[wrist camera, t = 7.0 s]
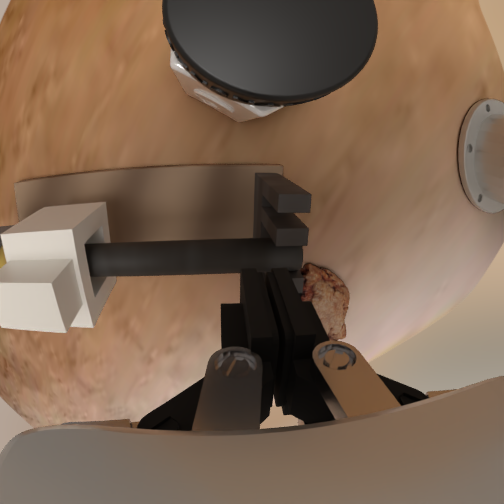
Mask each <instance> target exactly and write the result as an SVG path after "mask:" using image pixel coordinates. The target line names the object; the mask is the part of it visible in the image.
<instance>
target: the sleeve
mask: <svg viewBox="0 0 504 504" xmlns="http://www.w3.org/2000/svg"><path fill="white" fill-rule="evenodd" d="M0 235H1V240H2V245H3V249H4V254H5V258H6V262H7V263H6V264H5V265H4V266H3V267H2V268H0V325H1V327H2V328H11V329H21V330H32V331H44V332H59V333H67V331H68V329H69V328H70V327H89V328H94V326H95V324H96V322H97V320H98V317H99V315H100V313H101V311H102V309H103V307H104V305H105V303H106V301H107V299H108V297H109V295H110V293H111V291H112V289H113V287H114V285H115V283H116V281H117V280H116V276H110V277H90V273H89V268H88V263H87V258H86V252H85V246H84V244H93V243H111V242H110V234H109V226H108V217H107V208H106V202H96V203H83V204H71V205H60V206H50V207H44V208H42V209H40V210H38V211H37V212H35V213H33V214H32V215H30V216H28V217H27V218H25V219H24V220H22V221H20V222H19V223H17V224H16V225H14V226H12V227H11V228H9V229H8V230H6V231H5V232H3V233H2V234H0Z"/></svg>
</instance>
